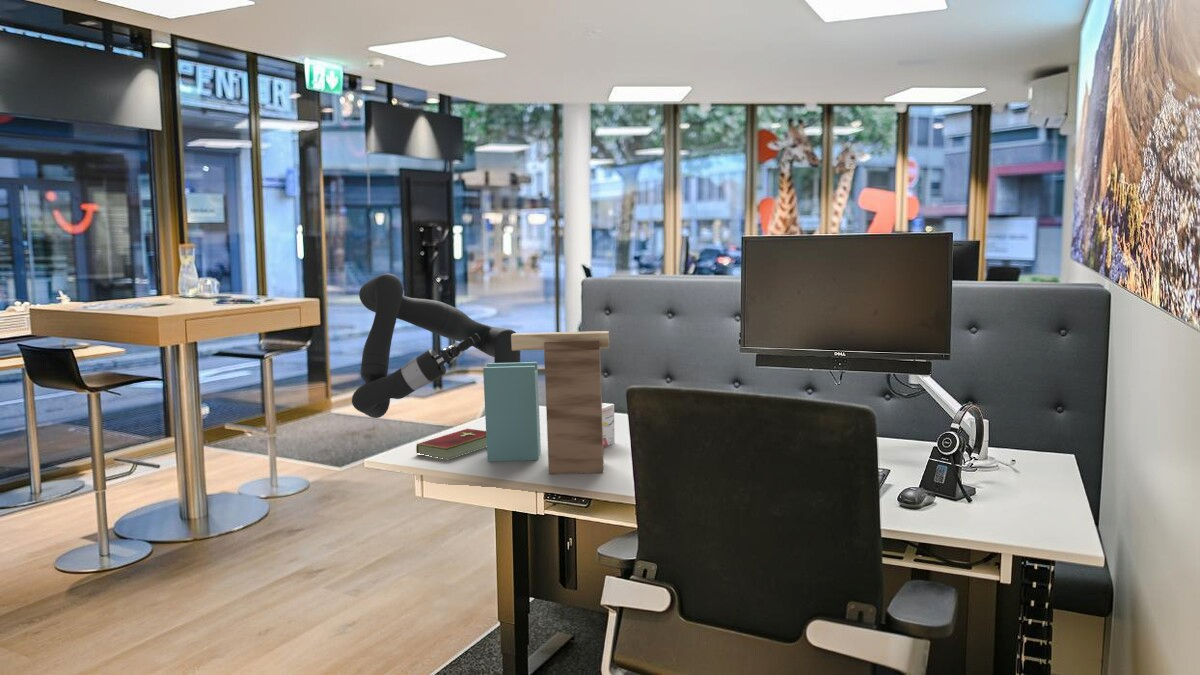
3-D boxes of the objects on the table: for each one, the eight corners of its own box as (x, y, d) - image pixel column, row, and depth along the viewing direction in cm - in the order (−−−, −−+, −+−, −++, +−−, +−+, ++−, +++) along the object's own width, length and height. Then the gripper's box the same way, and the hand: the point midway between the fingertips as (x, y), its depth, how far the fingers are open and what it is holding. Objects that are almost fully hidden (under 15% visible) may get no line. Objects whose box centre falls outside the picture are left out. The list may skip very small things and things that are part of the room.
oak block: (514, 348, 226) (513, 333, 225) (609, 346, 224) (608, 331, 224) (511, 350, 222) (511, 335, 221) (608, 348, 220) (608, 332, 220)
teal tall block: (491, 453, 245) (487, 363, 241) (540, 452, 244) (537, 362, 241) (487, 461, 237) (483, 367, 233) (538, 460, 236) (534, 366, 233)
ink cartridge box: (600, 449, 246) (599, 398, 244) (586, 447, 248) (584, 397, 247) (615, 442, 253) (614, 393, 251) (601, 441, 256) (599, 392, 254)
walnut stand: (551, 463, 232) (547, 338, 228) (603, 462, 232) (599, 337, 228) (548, 474, 222) (543, 343, 218) (603, 472, 222) (599, 342, 218)
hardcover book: (416, 457, 246) (415, 442, 245) (467, 440, 263) (466, 427, 262) (447, 462, 239) (446, 447, 238) (497, 445, 256) (496, 431, 256)
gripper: (409, 361, 217) (463, 328, 216) (422, 354, 231) (473, 323, 230) (424, 386, 218) (479, 354, 217) (436, 377, 232) (487, 347, 231)
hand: (475, 338), depth 223 cm, fingers open, 8 cm apart
